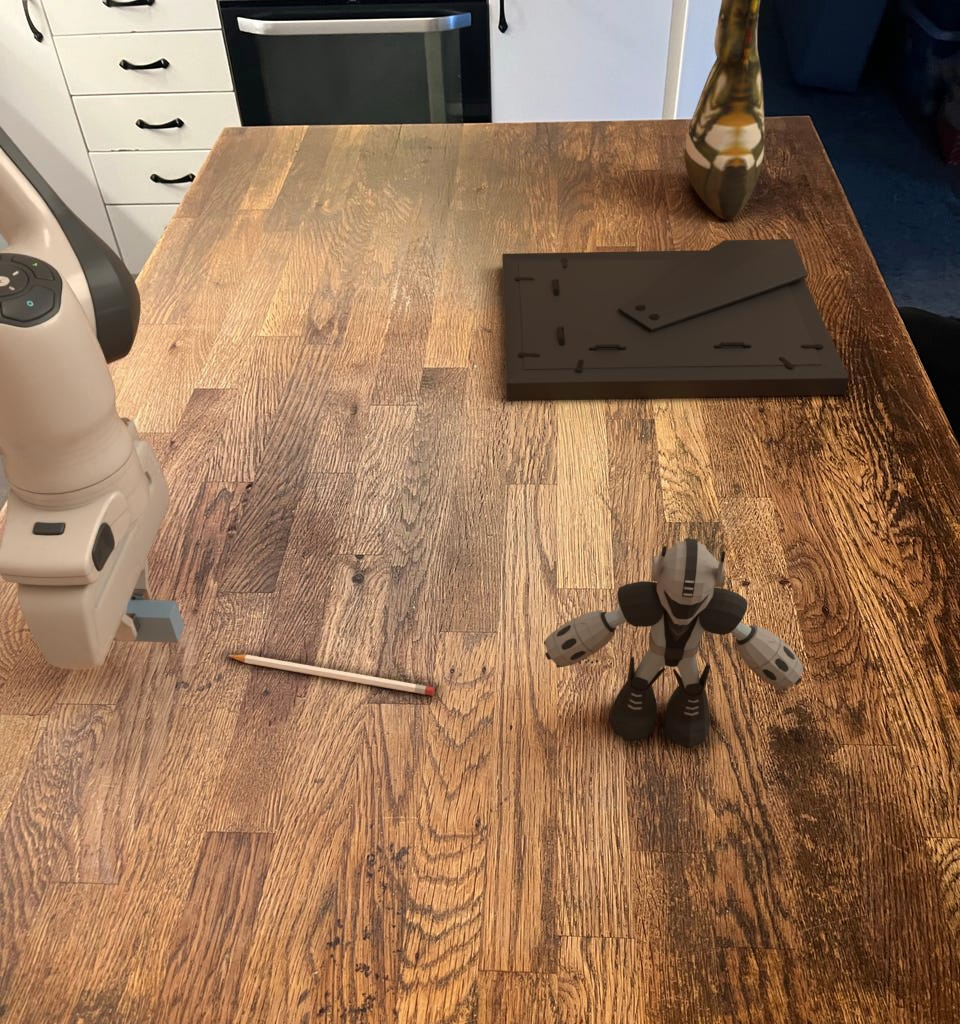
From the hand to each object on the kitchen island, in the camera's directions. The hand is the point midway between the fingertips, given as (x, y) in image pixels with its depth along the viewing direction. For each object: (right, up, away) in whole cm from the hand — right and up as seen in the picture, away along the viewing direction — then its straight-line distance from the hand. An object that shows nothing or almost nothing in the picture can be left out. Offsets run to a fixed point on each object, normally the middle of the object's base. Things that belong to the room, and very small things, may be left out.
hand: (134, 620), depth 82 cm
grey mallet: (-1, -1, +1) cm, 2 cm away
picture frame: (+51, +37, +41) cm, 75 cm away
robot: (+43, -8, 0) cm, 44 cm away
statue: (+64, +64, +66) cm, 112 cm away
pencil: (+15, -5, +4) cm, 17 cm away
